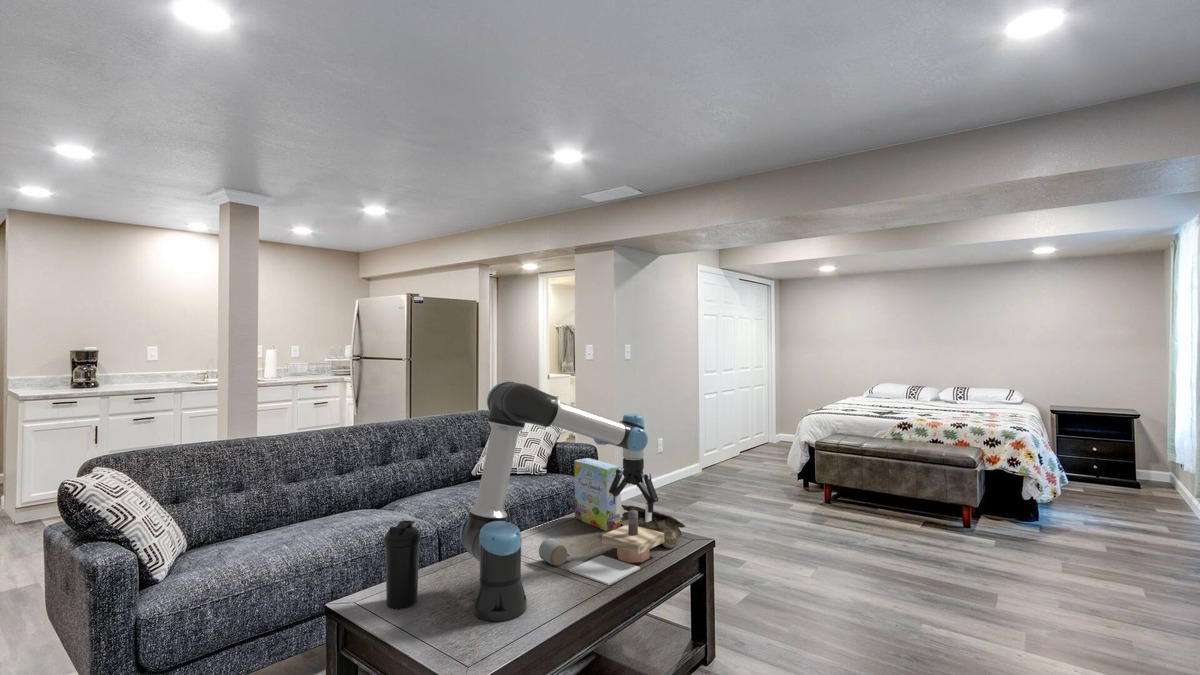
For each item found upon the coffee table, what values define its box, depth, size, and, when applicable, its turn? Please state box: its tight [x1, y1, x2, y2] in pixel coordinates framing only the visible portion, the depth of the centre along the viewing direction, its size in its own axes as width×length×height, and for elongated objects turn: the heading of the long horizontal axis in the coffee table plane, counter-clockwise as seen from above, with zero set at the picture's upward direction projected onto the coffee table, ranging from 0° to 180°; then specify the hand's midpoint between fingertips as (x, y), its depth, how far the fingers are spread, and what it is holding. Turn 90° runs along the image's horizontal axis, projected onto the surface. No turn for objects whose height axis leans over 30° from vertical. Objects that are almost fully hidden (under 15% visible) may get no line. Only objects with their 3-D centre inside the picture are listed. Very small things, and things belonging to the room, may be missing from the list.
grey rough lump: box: [621, 504, 686, 549], centre depth 221 cm, size 28×13×15 cm
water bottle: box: [383, 520, 422, 610], centre depth 167 cm, size 10×10×23 cm
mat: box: [568, 554, 641, 586], centre depth 192 cm, size 17×17×1 cm
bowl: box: [616, 548, 651, 564], centre depth 204 cm, size 11×11×7 cm
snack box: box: [574, 457, 621, 532], centre depth 241 cm, size 22×9×26 cm, turn 41°
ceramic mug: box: [538, 537, 573, 567], centre depth 199 cm, size 11×8×8 cm
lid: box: [601, 510, 664, 555], centre depth 204 cm, size 16×16×11 cm
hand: (632, 517), depth 204 cm, fingers open, 13 cm apart
